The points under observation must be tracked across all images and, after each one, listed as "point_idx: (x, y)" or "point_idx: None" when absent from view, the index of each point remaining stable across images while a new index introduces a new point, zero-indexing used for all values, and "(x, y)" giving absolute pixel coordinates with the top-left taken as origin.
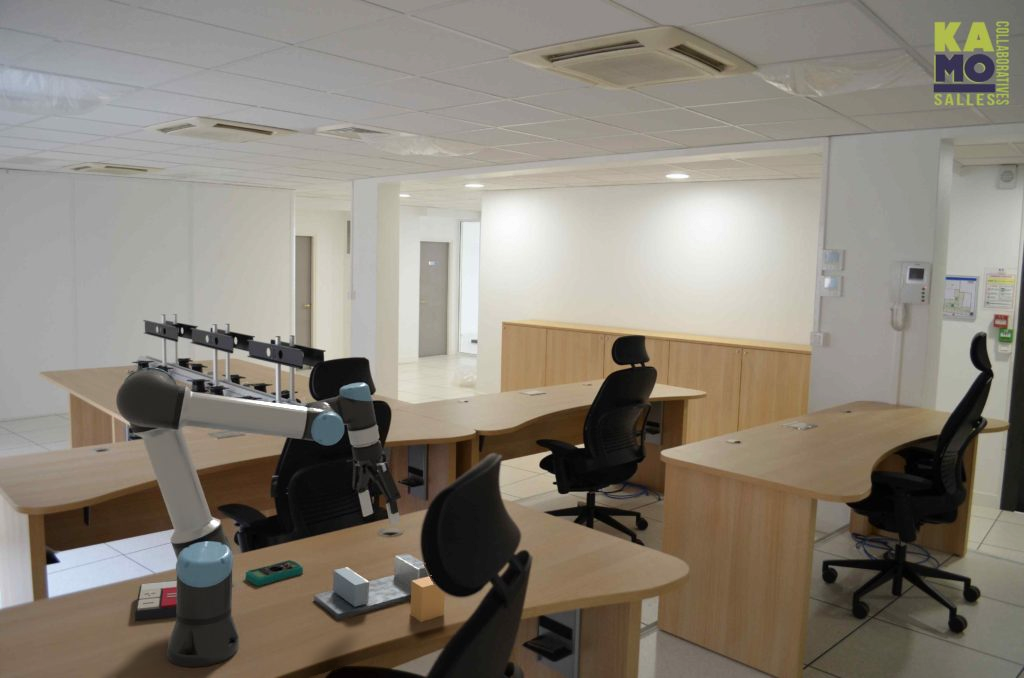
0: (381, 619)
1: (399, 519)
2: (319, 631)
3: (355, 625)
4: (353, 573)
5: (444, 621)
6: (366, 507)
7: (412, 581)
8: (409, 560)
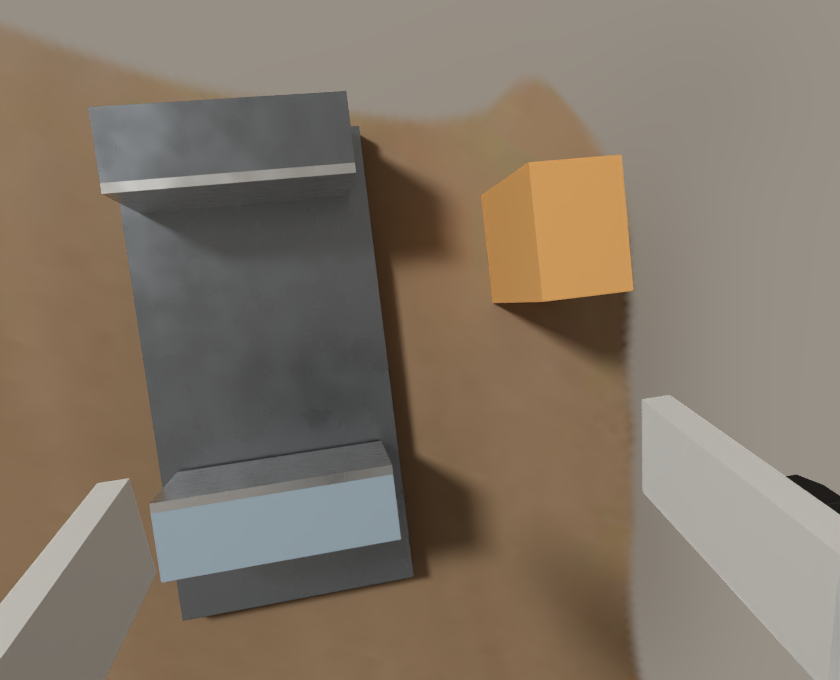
0: (479, 419)
1: (691, 415)
2: (465, 652)
3: (480, 522)
4: (255, 501)
5: None
6: (113, 598)
7: (551, 300)
8: (210, 151)
